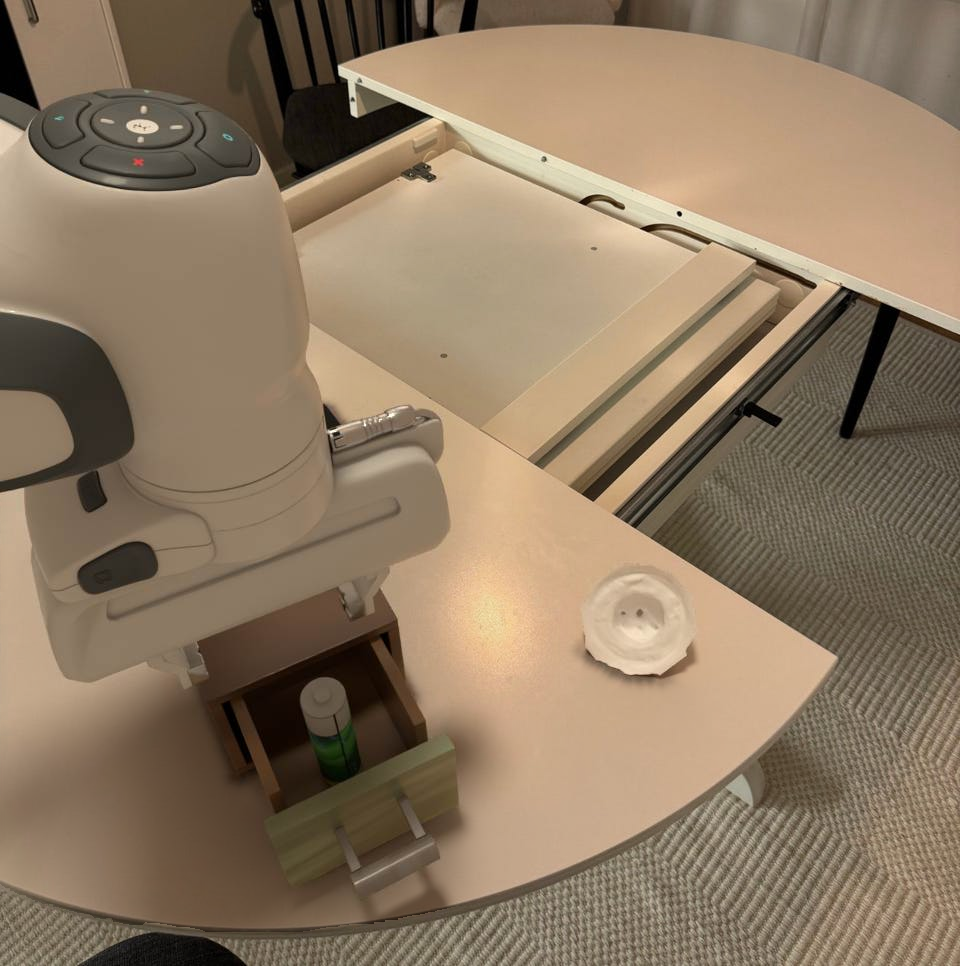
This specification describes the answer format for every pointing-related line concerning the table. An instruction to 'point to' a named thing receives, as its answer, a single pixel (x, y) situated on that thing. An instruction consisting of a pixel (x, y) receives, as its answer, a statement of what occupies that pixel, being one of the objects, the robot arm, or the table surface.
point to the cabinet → (284, 654)
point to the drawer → (363, 798)
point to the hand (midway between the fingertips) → (277, 640)
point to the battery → (331, 730)
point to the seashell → (638, 619)
